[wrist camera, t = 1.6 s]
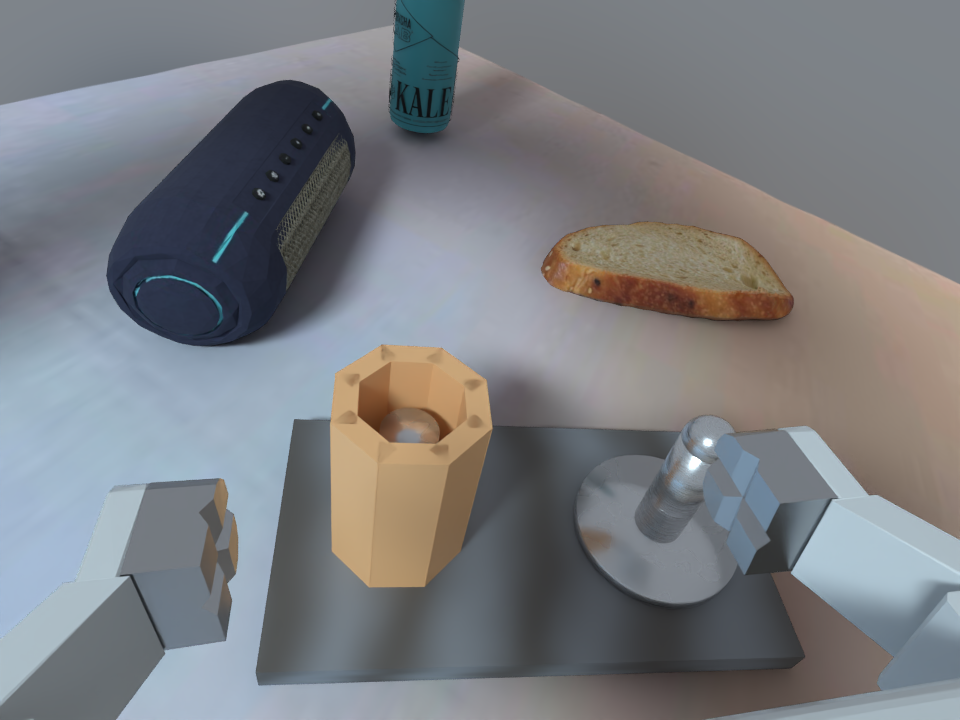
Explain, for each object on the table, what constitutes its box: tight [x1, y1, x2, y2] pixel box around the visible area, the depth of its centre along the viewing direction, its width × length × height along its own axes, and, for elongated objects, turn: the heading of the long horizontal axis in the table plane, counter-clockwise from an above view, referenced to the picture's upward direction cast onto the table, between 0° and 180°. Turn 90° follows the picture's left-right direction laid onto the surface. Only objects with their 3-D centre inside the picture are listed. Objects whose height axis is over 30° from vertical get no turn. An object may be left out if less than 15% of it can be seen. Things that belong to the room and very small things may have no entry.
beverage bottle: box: [388, 0, 465, 133], centre depth 61 cm, size 6×7×20 cm
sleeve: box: [330, 345, 493, 588], centre depth 30 cm, size 6×6×10 cm
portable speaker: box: [106, 80, 355, 346], centre depth 47 cm, size 25×10×10 cm, turn 172°
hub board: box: [256, 408, 805, 685], centre depth 32 cm, size 26×14×11 cm, turn 95°
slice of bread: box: [541, 222, 794, 321], centre depth 55 cm, size 18×18×4 cm
